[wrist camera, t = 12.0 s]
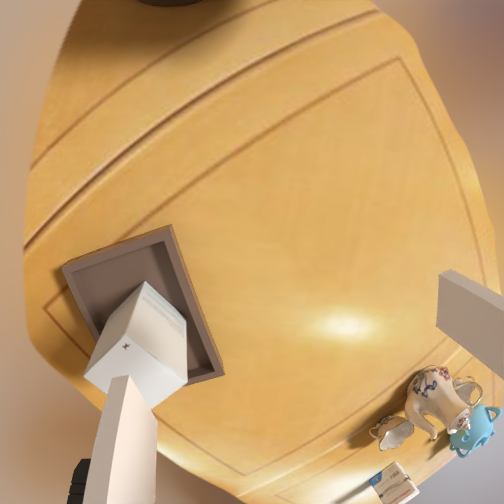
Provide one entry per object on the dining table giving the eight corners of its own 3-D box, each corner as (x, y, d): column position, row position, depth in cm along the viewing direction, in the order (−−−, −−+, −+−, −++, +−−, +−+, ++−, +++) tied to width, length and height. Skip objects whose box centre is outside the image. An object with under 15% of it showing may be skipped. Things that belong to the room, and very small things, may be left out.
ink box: (375, 482, 61) (393, 512, 50) (368, 480, 60) (386, 511, 48) (400, 464, 61) (420, 492, 50) (394, 460, 59) (415, 490, 48)
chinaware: (363, 439, 55) (396, 494, 40) (360, 398, 49) (405, 466, 33) (459, 379, 58) (499, 420, 42) (470, 330, 51) (522, 374, 36)
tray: (69, 260, 34) (60, 267, 31) (171, 224, 35) (169, 228, 32) (132, 386, 40) (129, 399, 37) (222, 362, 41) (225, 374, 38)
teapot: (486, 387, 60) (510, 408, 50) (480, 418, 66) (500, 437, 55) (446, 421, 60) (469, 446, 49) (444, 448, 65) (463, 470, 54)
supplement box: (107, 316, 35) (79, 375, 23) (145, 278, 35) (126, 330, 23) (149, 353, 38) (139, 420, 26) (188, 319, 37) (190, 382, 25)
